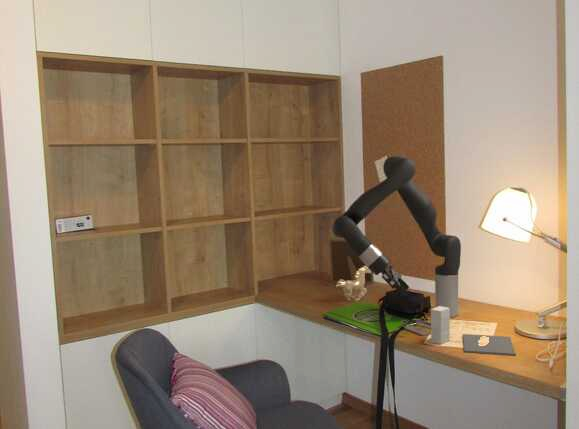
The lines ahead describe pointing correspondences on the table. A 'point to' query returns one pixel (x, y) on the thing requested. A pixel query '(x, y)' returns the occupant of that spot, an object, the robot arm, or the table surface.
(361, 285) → the unicorn
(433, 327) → the skincare box
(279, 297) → the table surface
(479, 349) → the charcoal mat
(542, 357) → the table surface
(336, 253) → the photo frame
